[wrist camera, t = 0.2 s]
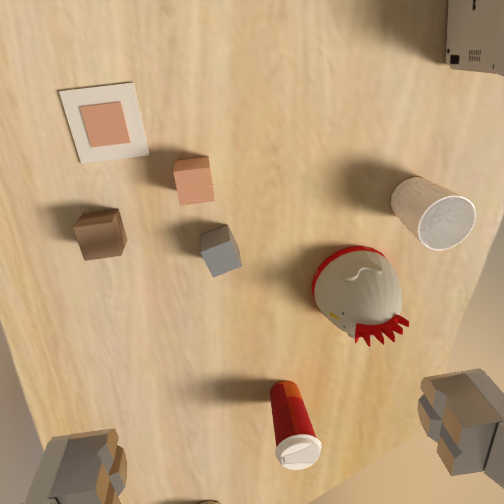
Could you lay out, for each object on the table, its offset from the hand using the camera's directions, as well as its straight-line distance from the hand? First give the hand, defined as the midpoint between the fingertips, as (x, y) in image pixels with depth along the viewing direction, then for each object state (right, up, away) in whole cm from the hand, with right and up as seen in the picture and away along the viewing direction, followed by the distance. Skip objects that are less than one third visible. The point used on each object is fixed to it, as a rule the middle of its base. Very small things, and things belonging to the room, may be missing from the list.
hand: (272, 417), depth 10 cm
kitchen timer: (+16, -1, +57) cm, 59 cm away
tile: (-19, +21, +40) cm, 49 cm away
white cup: (+24, +13, +50) cm, 57 cm away
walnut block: (-22, +8, +47) cm, 52 cm away
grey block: (-5, +6, +50) cm, 51 cm away
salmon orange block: (-8, +15, +45) cm, 48 cm away
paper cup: (+6, -23, +67) cm, 71 cm away
